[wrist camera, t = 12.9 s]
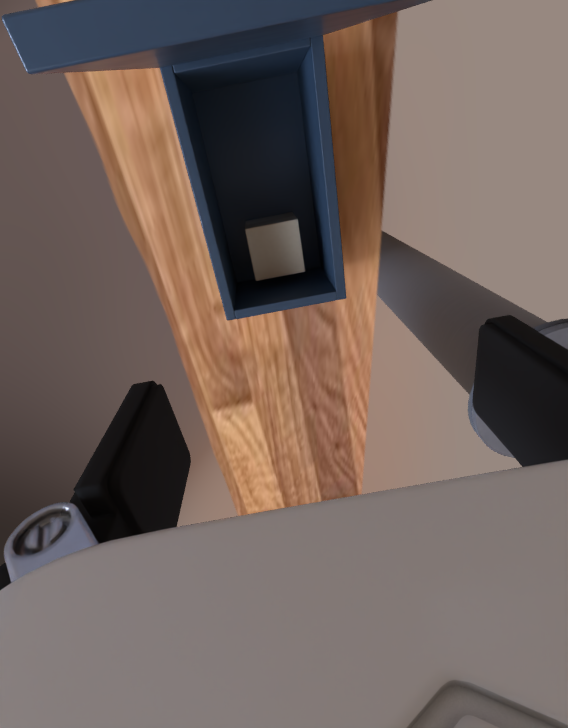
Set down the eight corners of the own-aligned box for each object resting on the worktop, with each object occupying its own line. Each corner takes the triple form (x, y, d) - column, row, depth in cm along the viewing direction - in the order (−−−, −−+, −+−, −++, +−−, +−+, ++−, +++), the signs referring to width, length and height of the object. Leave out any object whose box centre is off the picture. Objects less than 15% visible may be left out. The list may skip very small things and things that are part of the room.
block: (292, 211, 31) (298, 218, 27) (299, 259, 33) (305, 271, 29) (245, 220, 31) (244, 229, 27) (255, 268, 33) (255, 281, 29)
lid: (489, -18, 7) (499, -87, 6) (26, 74, 7) (-2, 15, 7) (324, 34, 20) (323, 13, 19) (158, 68, 20) (152, 47, 19)
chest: (327, 270, 34) (346, 298, 27) (231, 289, 34) (227, 321, 27) (304, 60, 26) (322, 26, 20) (181, 84, 27) (157, 59, 20)
